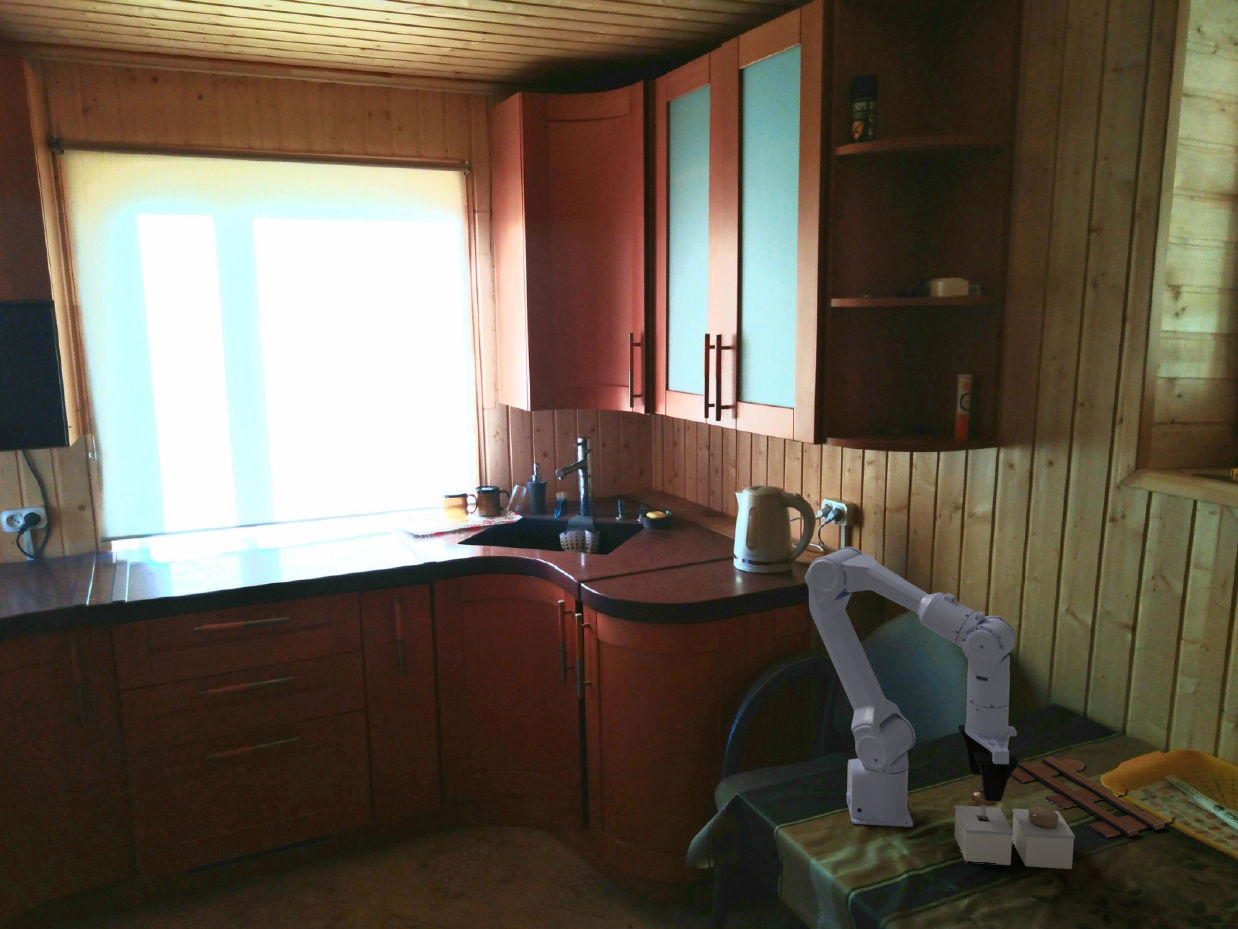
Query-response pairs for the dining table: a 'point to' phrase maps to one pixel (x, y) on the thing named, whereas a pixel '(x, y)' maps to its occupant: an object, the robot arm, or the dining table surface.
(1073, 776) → the decorative fence
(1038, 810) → the block
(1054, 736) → the dining table surface
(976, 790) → the left press plunger
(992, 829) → the left press
